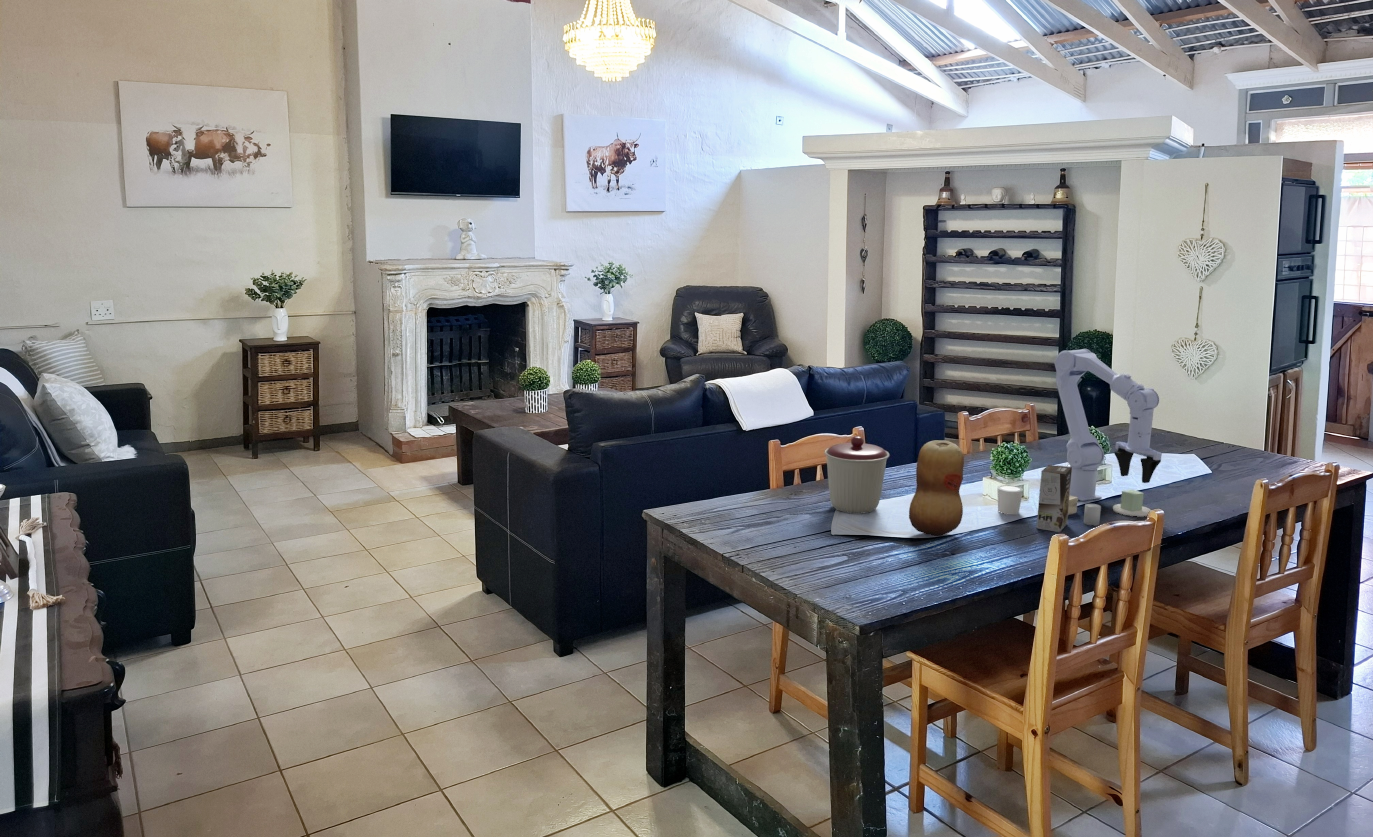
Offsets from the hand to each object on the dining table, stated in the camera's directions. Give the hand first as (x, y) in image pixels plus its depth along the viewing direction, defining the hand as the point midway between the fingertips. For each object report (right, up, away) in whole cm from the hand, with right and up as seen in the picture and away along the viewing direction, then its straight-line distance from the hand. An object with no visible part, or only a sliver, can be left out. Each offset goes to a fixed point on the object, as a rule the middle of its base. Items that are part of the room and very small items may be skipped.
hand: (1134, 479), depth 287 cm
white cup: (-35, -10, +1) cm, 37 cm away
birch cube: (-19, -9, +1) cm, 22 cm away
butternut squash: (-61, -14, -20) cm, 66 cm away
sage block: (0, -9, +2) cm, 9 cm away
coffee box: (-28, -12, -12) cm, 33 cm away
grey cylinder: (-16, -12, -9) cm, 22 cm away
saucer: (0, -9, +2) cm, 10 cm away
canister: (-79, -9, +3) cm, 79 cm away
